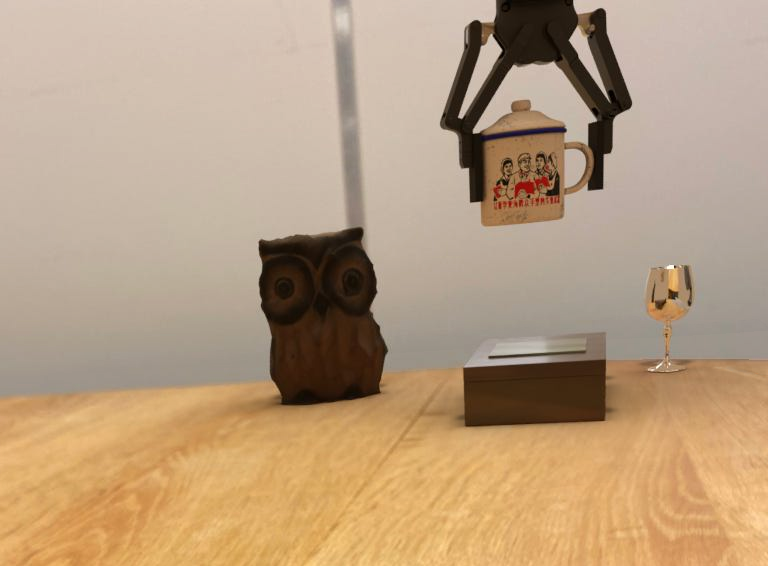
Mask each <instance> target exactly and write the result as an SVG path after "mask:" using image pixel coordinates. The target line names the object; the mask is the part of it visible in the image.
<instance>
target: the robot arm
mask: <svg viewBox="0 0 768 566" xmlns="http://www.w3.org/2000/svg"><path fill="white" fill-rule="evenodd" d="M607 25H608V24H607V11H606V10H605V9H604V8H603V7H599V8H597V9H595V10H593V11H590V12H583V13H577V11H576V8H575V4H574V0H495V16H494V19H493V21H491V22H490V21H489V22H487V21H486V22H481V21H480V20H479V19H473V20H472V21H471V22H469V23H468V24H467V25H466V26H465V27H464V30H463V52H462V55H461V57H460V60H459V64H458V66H457V69H456V73H455V76H454V79H453V81H452V84H451V88H450V90H449V93H448V95H447V96H448V97H447V100H446V102H445V106H444V109H443V112H442V114H441V118H440V121H439V127H440V128H441V129H442V130H444V131H449V132H453V133H454V134H455V135H456V136H457V139H458V165H459V167H460V169H461V170H462V169H463V170H464V169H468V180H469V181H468V186H469V203H470V204H473V203H481V202H483V176H482V135H481V133H479V132H475V133H474V129H475V128H476V126H477V125H478V123H479V121H480V119H481V118H482V116H483V114H484V113H485V112H486V109H487V108H488V106H489V104H490V103H491V101H492V100H493V99H494V96H495V95H496V93H497V92H498V90H499V88H500V86H501V85H502V83H503V82H504V80H505V78H506V77H507V75H508V73H509V72H510V71H511V69H513V66H515V67H516V68H525V67H528V66H531V65H536V66H544V65H545V66H547V65H549V64H552V63H554V65H556V67H557V68H558V69H559V70H561V71H562V73H563V74H564V76H565V77H566V78H567V80H568V81H569V83H570V84H571V85H572V87H573V88H574V90H575V91H576V93H577V94H578V95H579V97H580V98H581V100H582V101H583V103H584V104H585V105H586V107H587V108H588V110H589V111H590V112H591V114H592V115H593V117H594V119H595V121H593V122H589V123H587V146H588V147H589V148H590V149H591V150H592V152H593V155H594V168H593V172H592V175H591V177H590V179H589V181H588V182H587V192H591V191H600V190H604V184H605V183H604V178H605V176H604V173H605V171H604V170H605V169H604V168H605V155H611V154H612V151H613V148H614V147H613V146H614V138H613V137H614V136H613V135H614V120H615V119H616V117H617V116H619V115H620V114H622V113H625V112H626V111H629V110H630V109H631V108H632V106H633V100H632V97H631V95H630V91H629V89H628V86H627V83H626V81H625V78H624V76H623V72H622V70H621V68H620V65H619V62H618V59H617V56H616V54H615V52H614V49H613V45H612V43H611V39H610V38H609V37H610V36H609V35H608V27H607ZM577 28H578V29H579V30H580V32H581V35H582V36H583V37H584V38H586V41H587V45H588V47H589V48H588V49H589V50H590V53H591V55H592V58H593V62H594V64H595V66H596V67H595V68H596V69H597V71H598V74H599V76H600V80H601V82H602V85H603V87H604V90H605V93H606V95H605V94H604V92H603V90H602V88H601V87H600V86H599V84H598V83H597V81H595V78H594V77H593V76H592V75H591V73H590V72H589V71H588V69H587V68H586V66H585V64H584V63H583V62H582V60H581V59H580V57H579V53H578V52H577V50H576V48H575V47H574V45H573V44H572V43H571V41H570V40H571V38H572V36H573V34H574V33H575V31H576V30H577ZM490 36H492V38H493V39H494V41H495V42H496V43H497V45H498V46H499V48H500V49H501V51H500V54H498V57H497V58H496V60H495V61H494V63H493V65H492V68H491V70H490V71H489V73H488V74H487V76H486V78H485V80H484V82H483V83H482V85H481V87H480V88H479V90H478V91H477V93H476V95H475V96H474V98H473V100H471V101H472V102H471V103H470V105H469V106H468V108H467V110H466V111H465V112H464V115H463V116H462V118H461V117H460V113H461V110H462V107H463V104H464V102H465V98H466V96H467V92H468V90H469V86H470V84H471V81H472V77H473V74H474V71H475V69H476V65H477V62H478V60H479V56H480V53H481V49H482V48H483V47H484V46H486V44H487V43H488V40H489V38H490Z"/></svg>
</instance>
